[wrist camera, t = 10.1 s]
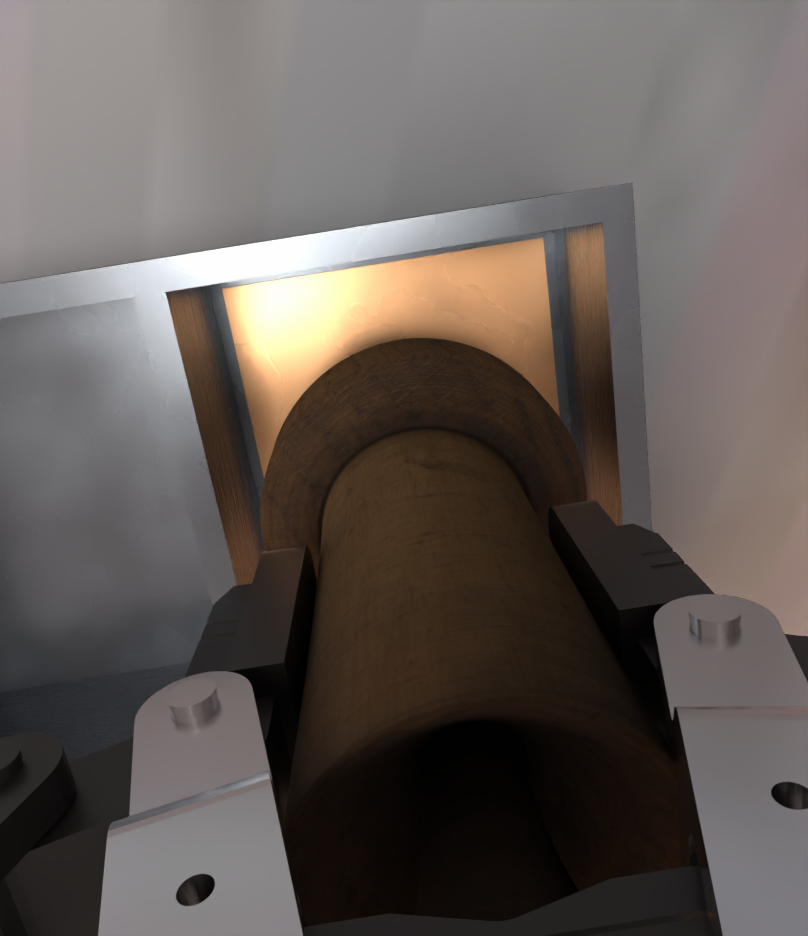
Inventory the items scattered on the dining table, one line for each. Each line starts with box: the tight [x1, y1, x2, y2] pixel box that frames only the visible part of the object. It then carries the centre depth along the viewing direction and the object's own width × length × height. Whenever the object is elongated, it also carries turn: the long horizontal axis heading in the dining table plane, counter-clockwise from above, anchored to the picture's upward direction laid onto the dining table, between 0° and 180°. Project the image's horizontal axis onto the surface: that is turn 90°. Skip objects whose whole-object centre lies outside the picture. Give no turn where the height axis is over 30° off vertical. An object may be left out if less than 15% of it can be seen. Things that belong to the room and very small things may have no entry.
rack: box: [0, 183, 652, 762], centre depth 18 cm, size 27×12×5 cm, turn 99°
